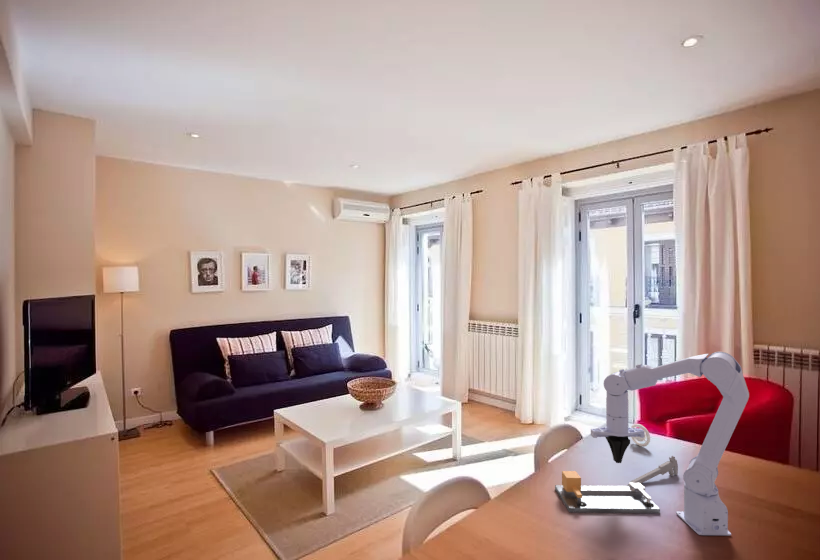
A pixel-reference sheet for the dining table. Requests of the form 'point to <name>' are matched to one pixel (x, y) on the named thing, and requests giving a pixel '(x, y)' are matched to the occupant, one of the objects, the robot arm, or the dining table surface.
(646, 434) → the ring around a ball
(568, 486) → the block
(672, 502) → the dining table surface
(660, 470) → the caliper
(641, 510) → the board
